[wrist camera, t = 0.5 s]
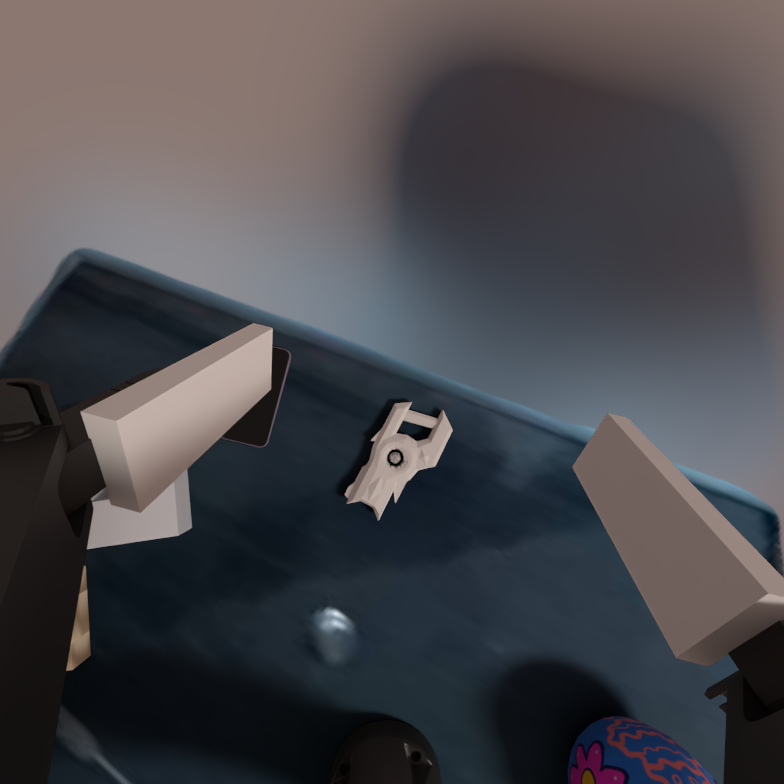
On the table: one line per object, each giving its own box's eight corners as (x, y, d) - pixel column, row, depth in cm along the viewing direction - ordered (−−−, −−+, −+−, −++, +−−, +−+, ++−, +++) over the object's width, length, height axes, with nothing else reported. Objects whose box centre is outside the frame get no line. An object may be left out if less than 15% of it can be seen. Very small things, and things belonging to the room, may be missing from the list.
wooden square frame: (90, 655, 43) (72, 669, 41) (0, 670, 43) (-24, 685, 40) (85, 565, 44) (68, 574, 42) (-3, 578, 44) (-27, 588, 41)
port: (191, 527, 45) (176, 536, 42) (91, 542, 45) (67, 552, 41) (181, 403, 47) (166, 402, 43) (84, 416, 46) (60, 416, 43)
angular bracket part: (402, 536, 43) (338, 501, 43) (401, 529, 46) (341, 496, 46) (460, 417, 45) (399, 385, 46) (454, 419, 49) (397, 389, 49)
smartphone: (217, 437, 46) (244, 339, 47) (221, 436, 47) (247, 340, 48) (266, 448, 46) (291, 350, 47) (268, 448, 47) (294, 352, 48)
